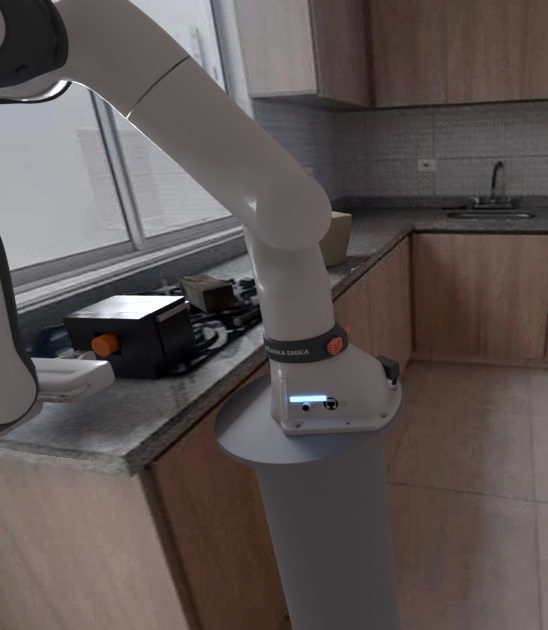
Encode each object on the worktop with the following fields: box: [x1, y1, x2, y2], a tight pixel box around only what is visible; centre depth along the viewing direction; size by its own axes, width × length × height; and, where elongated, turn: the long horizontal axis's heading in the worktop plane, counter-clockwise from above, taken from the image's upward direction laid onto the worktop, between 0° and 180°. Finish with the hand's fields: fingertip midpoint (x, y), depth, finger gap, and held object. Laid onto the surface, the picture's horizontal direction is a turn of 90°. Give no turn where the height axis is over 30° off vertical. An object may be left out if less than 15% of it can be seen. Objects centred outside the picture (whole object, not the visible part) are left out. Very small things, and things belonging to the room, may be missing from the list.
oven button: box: [92, 333, 120, 357], centre depth 80 cm, size 4×3×4 cm
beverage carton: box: [178, 273, 237, 314], centre depth 119 cm, size 8×19×7 cm, turn 44°
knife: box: [232, 307, 262, 327], centre depth 111 cm, size 19×2×5 cm
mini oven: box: [61, 295, 199, 380], centre depth 85 cm, size 17×12×12 cm
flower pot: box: [319, 210, 353, 268], centre depth 152 cm, size 19×19×17 cm
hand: (88, 354), depth 76 cm, fingers closed
